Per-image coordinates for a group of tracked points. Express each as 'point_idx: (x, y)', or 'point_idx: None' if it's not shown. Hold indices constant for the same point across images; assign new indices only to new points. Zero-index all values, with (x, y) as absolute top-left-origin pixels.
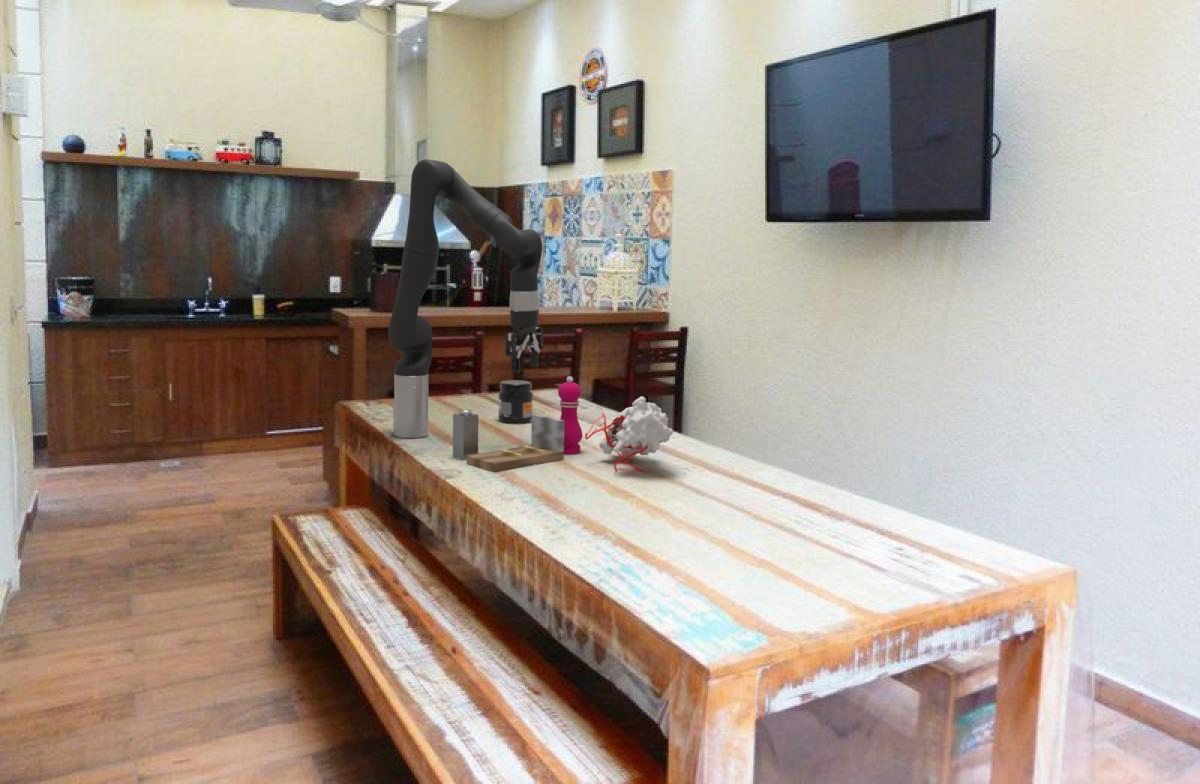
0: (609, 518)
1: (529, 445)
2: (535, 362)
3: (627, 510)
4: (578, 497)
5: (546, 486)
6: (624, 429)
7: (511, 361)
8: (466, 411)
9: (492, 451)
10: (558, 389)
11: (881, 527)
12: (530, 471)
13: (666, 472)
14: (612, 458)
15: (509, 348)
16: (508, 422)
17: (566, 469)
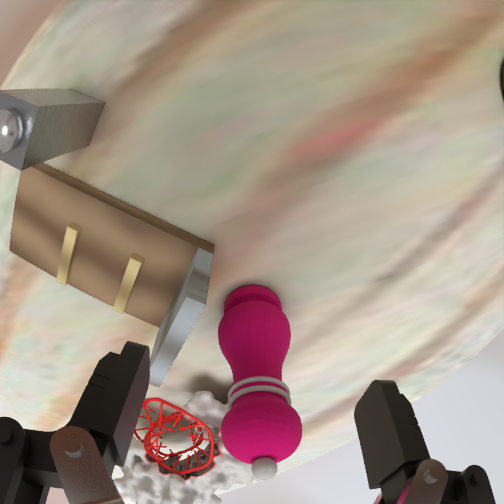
0: (4, 398)
1: (191, 245)
2: (363, 429)
3: (28, 410)
4: (20, 375)
5: (20, 339)
6: (142, 460)
7: (77, 405)
8: None
9: (80, 192)
10: (244, 421)
11: (128, 497)
12: (59, 297)
13: (185, 436)
14: (232, 382)
15: (13, 493)
16: (502, 77)
17: (109, 343)
